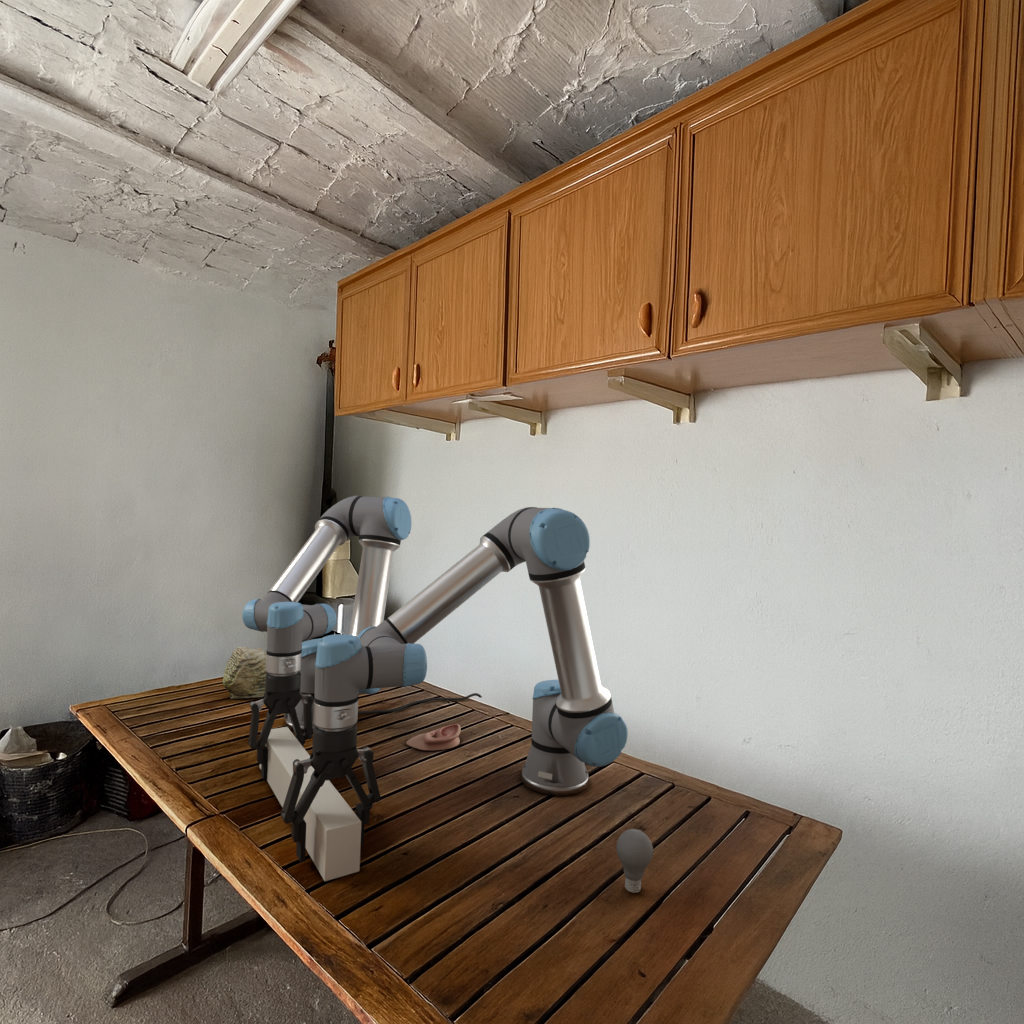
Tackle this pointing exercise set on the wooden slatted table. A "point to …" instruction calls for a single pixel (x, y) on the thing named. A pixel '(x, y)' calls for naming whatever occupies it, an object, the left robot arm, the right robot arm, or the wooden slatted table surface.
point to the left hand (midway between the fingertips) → (279, 773)
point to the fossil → (246, 673)
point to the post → (316, 810)
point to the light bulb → (634, 857)
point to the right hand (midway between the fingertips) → (330, 849)
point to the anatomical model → (437, 738)
